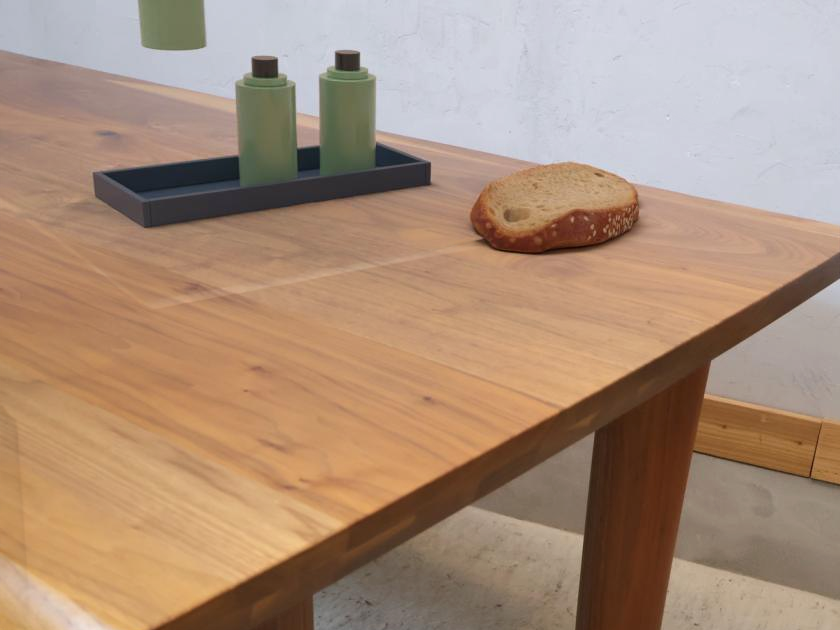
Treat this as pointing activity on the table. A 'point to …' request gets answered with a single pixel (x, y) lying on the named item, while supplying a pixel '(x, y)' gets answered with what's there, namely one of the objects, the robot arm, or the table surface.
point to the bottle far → (347, 116)
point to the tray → (222, 195)
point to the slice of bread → (555, 208)
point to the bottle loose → (172, 24)
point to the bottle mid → (266, 124)
